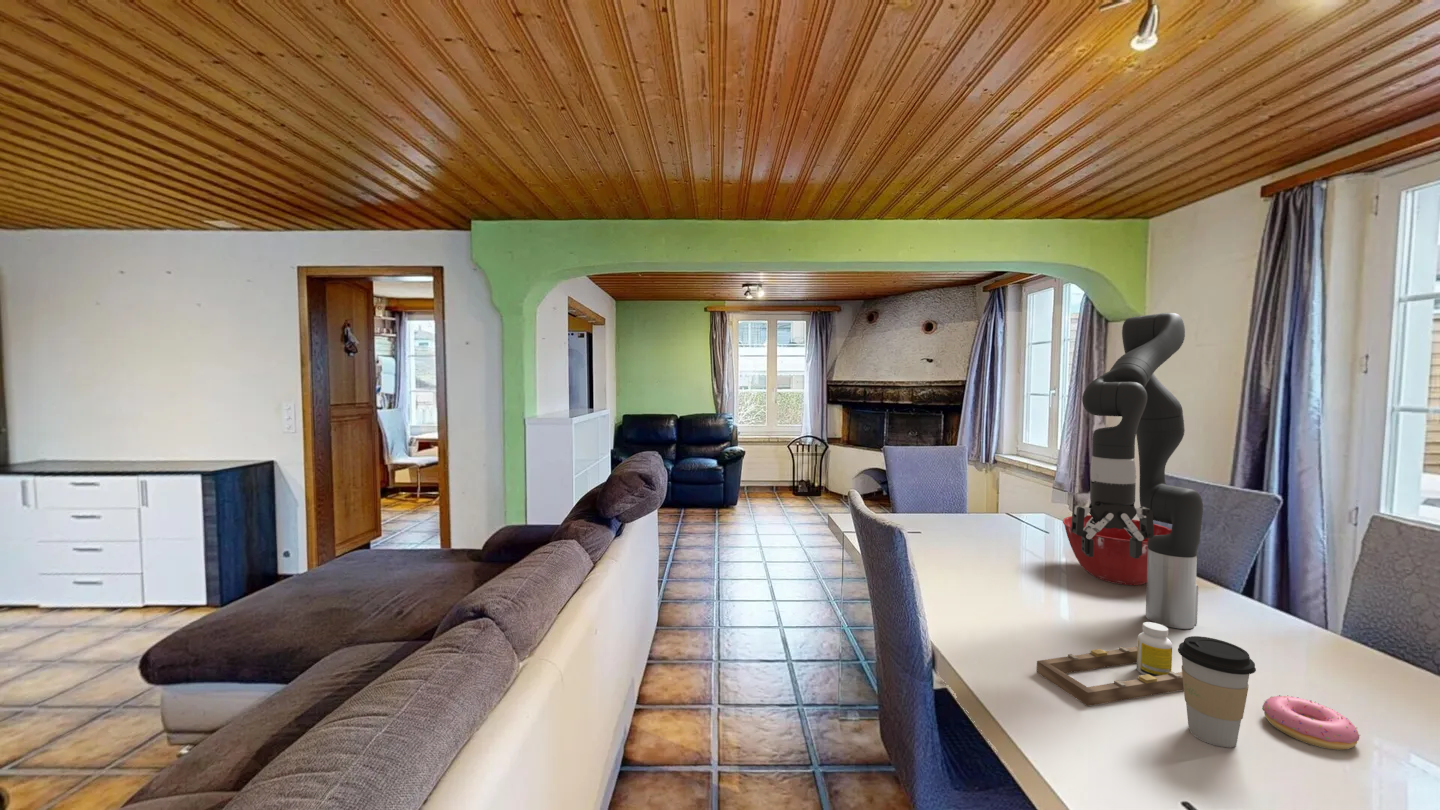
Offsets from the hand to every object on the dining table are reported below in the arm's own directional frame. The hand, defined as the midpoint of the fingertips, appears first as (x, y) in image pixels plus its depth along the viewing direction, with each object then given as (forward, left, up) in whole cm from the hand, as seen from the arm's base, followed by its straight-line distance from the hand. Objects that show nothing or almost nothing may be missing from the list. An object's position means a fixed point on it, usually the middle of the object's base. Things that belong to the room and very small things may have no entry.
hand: (1111, 556), depth 111 cm
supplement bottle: (-5, +6, -23) cm, 24 cm away
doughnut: (-12, +26, -23) cm, 36 cm away
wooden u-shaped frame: (+3, +6, -23) cm, 23 cm away
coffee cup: (+5, +23, -23) cm, 33 cm away
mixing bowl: (-49, -39, -23) cm, 67 cm away
